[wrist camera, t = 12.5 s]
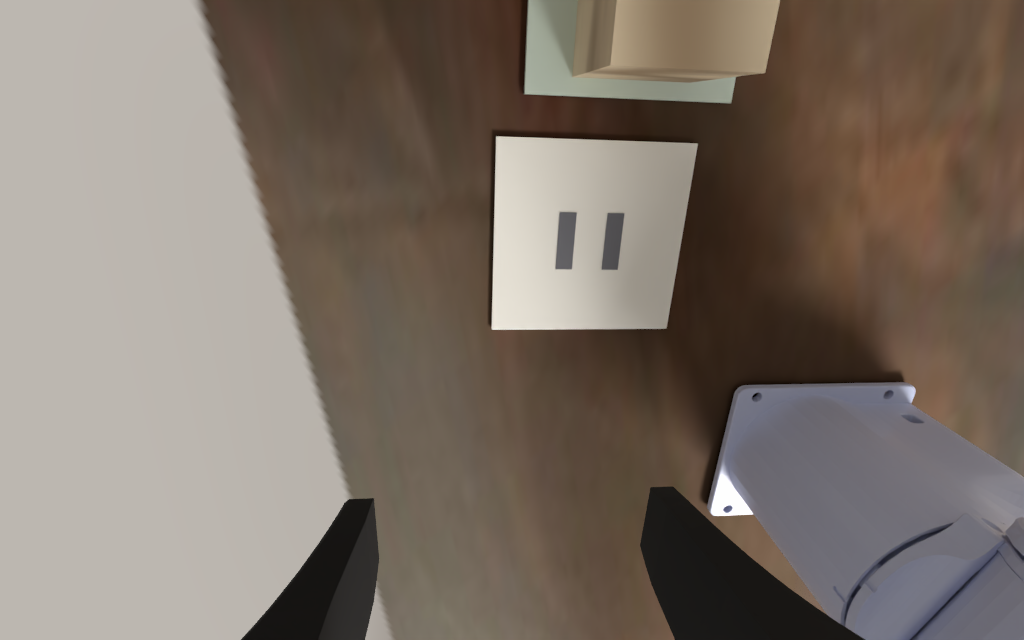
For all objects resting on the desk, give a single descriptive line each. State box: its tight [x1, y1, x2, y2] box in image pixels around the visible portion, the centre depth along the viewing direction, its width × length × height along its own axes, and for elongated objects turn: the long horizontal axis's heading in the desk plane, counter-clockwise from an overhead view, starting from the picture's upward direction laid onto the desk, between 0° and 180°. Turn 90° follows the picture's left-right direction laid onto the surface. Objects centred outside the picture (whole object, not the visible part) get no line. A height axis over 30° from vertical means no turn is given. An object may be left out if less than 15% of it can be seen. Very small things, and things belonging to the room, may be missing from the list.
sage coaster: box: [524, 0, 736, 103], centre depth 18 cm, size 8×6×1 cm
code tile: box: [492, 136, 698, 330], centre depth 21 cm, size 8×8×1 cm
